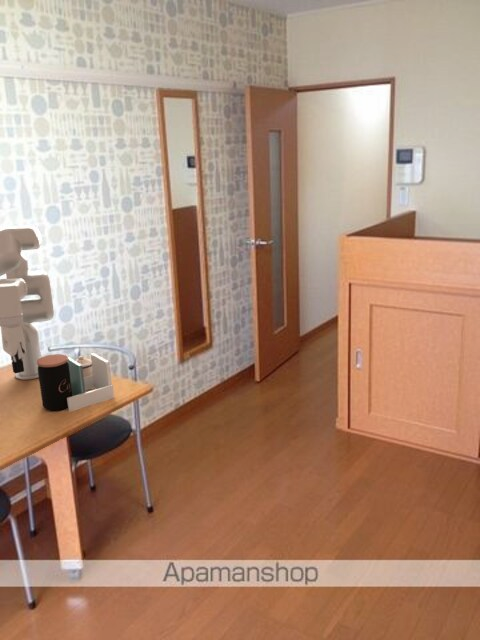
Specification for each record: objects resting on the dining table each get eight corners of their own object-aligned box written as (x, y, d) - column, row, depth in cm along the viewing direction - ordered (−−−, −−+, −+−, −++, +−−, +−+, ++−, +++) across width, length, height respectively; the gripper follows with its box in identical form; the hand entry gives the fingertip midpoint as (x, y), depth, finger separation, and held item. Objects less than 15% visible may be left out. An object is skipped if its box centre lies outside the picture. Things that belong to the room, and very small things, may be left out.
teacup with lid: (98, 386, 233) (95, 358, 230) (74, 390, 229) (71, 362, 226) (91, 375, 243) (88, 348, 240) (68, 380, 240) (65, 352, 236)
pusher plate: (69, 394, 225) (65, 357, 221) (73, 393, 226) (68, 356, 221) (83, 404, 216) (78, 365, 212) (86, 403, 217) (82, 365, 212)
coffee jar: (65, 413, 210) (58, 365, 205) (37, 411, 212) (30, 364, 207) (78, 400, 220) (73, 354, 215) (52, 399, 222) (46, 353, 217)
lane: (53, 398, 223) (48, 363, 219) (96, 386, 233) (92, 352, 229) (69, 411, 211) (64, 374, 207) (114, 397, 222) (110, 362, 218)
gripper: (-8, 318, 203) (0, 369, 208) (7, 327, 191) (15, 380, 196) (14, 313, 207) (22, 363, 212) (30, 322, 196) (37, 374, 201)
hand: (18, 371), depth 204 cm, fingers closed
